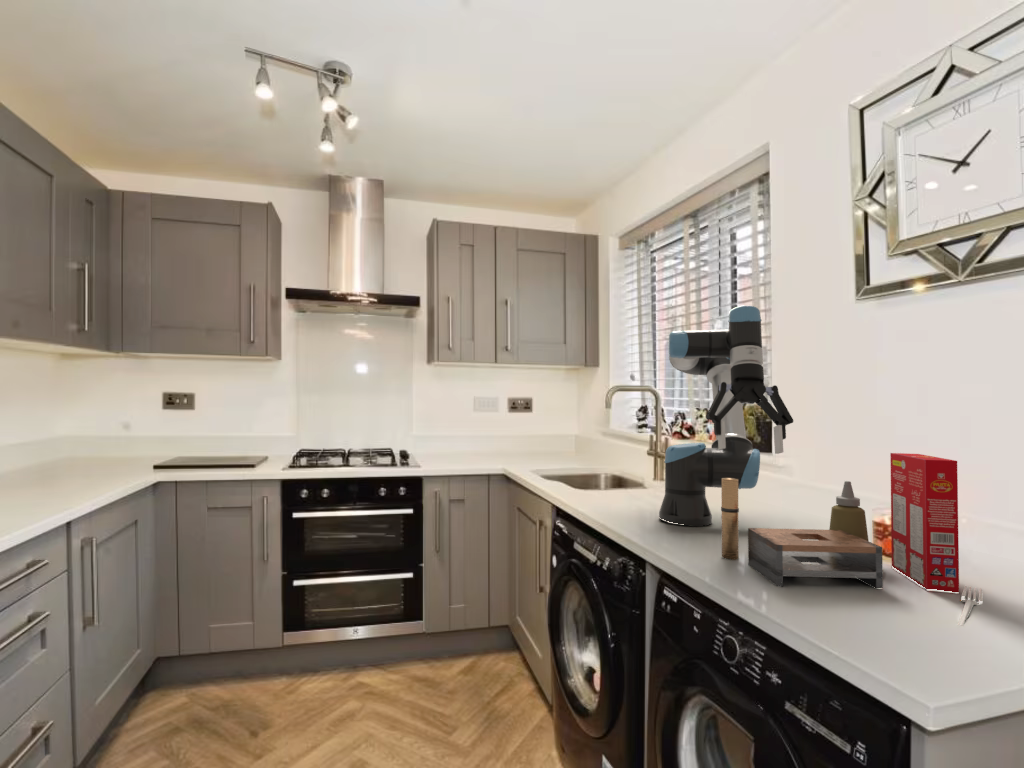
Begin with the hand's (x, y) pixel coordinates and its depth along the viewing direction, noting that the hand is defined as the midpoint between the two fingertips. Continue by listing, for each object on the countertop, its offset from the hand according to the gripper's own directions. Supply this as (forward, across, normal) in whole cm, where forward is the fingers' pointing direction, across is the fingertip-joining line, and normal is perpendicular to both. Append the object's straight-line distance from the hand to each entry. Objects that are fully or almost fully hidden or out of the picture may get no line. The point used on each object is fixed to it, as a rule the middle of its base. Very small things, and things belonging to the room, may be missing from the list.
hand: (750, 451), depth 128 cm
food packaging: (+26, +28, -12) cm, 41 cm away
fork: (+30, +24, -28) cm, 48 cm away
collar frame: (+27, +6, -11) cm, 30 cm away
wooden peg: (+25, -5, +2) cm, 25 cm away
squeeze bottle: (+24, +21, 0) cm, 32 cm away
